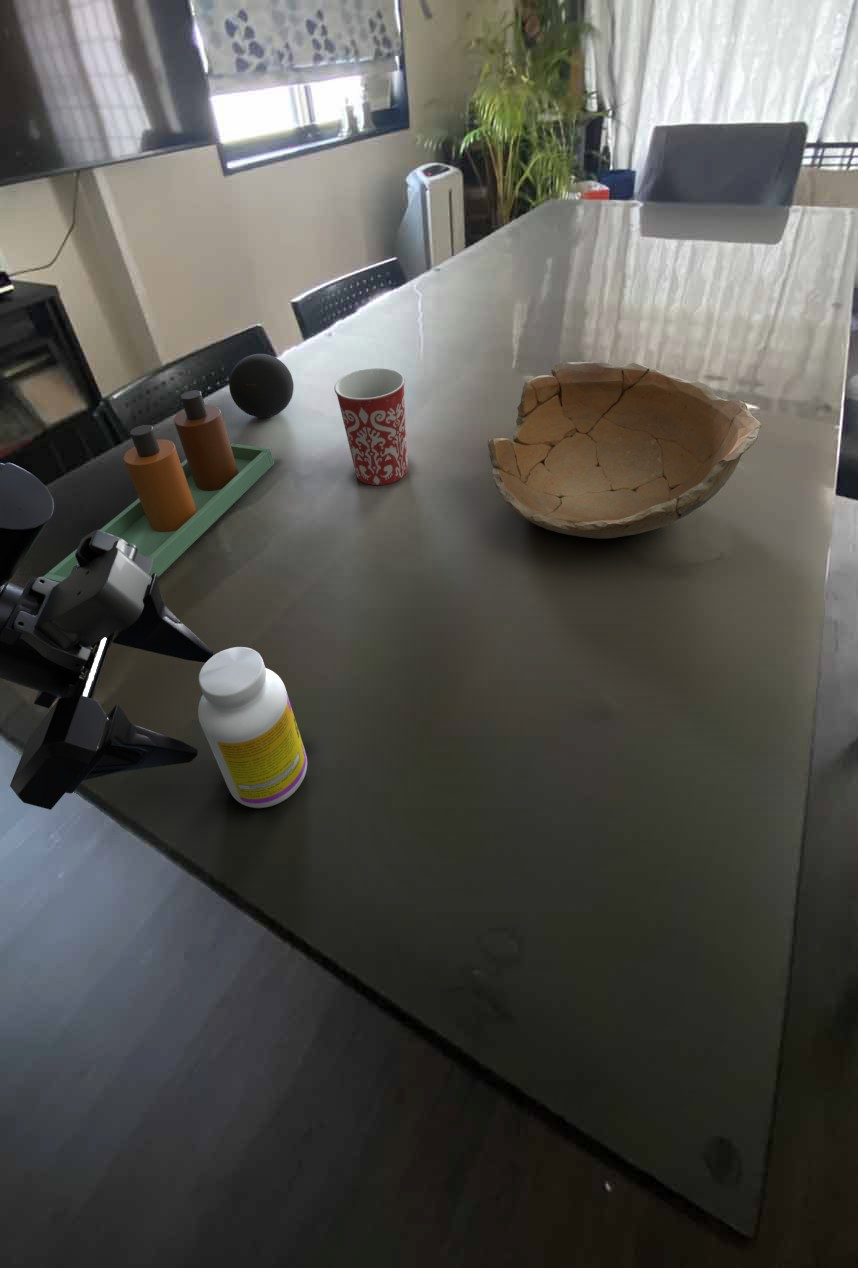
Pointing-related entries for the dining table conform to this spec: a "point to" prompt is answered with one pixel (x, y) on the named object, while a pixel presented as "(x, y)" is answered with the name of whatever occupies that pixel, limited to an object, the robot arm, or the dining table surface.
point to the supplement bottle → (251, 728)
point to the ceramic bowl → (617, 449)
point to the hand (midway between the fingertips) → (203, 703)
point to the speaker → (261, 385)
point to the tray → (175, 543)
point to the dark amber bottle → (205, 443)
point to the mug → (375, 423)
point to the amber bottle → (159, 480)
